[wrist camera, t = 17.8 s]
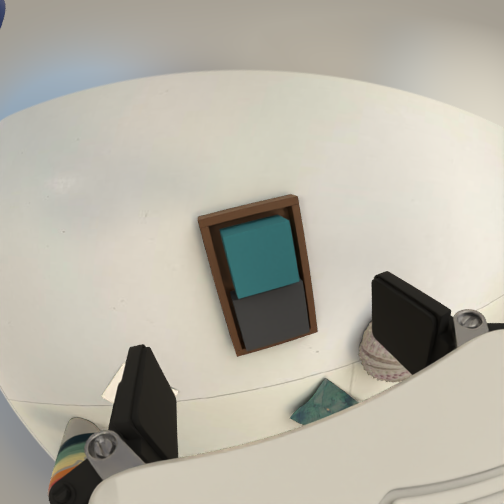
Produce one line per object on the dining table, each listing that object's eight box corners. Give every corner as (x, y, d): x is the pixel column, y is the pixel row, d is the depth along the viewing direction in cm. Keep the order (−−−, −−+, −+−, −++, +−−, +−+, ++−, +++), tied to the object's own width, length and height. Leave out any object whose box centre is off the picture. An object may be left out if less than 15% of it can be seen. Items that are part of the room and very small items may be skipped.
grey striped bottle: (108, 436, 33) (94, 542, 14) (84, 440, 33) (66, 537, 14) (85, 414, 31) (59, 525, 12) (62, 419, 31) (33, 519, 12)
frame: (197, 216, 27) (197, 220, 26) (291, 194, 29) (297, 195, 27) (234, 347, 32) (237, 356, 30) (311, 323, 33) (317, 331, 32)
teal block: (218, 228, 28) (222, 237, 24) (278, 214, 28) (289, 220, 25) (233, 284, 29) (238, 299, 26) (288, 269, 30) (299, 281, 27)
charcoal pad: (229, 291, 30) (232, 300, 27) (294, 272, 30) (302, 280, 28) (243, 339, 32) (246, 351, 29) (302, 321, 32) (310, 332, 30)
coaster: (179, 391, 33) (179, 395, 32) (151, 421, 33) (151, 425, 33) (124, 362, 30) (122, 366, 29) (101, 396, 31) (99, 400, 30)
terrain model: (284, 410, 37) (289, 418, 35) (324, 375, 37) (330, 383, 35) (329, 432, 41) (333, 439, 39) (363, 403, 41) (368, 410, 39)
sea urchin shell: (335, 340, 35) (365, 377, 27) (406, 268, 34) (446, 290, 27) (375, 379, 39) (401, 410, 32) (433, 319, 39) (465, 342, 31)
